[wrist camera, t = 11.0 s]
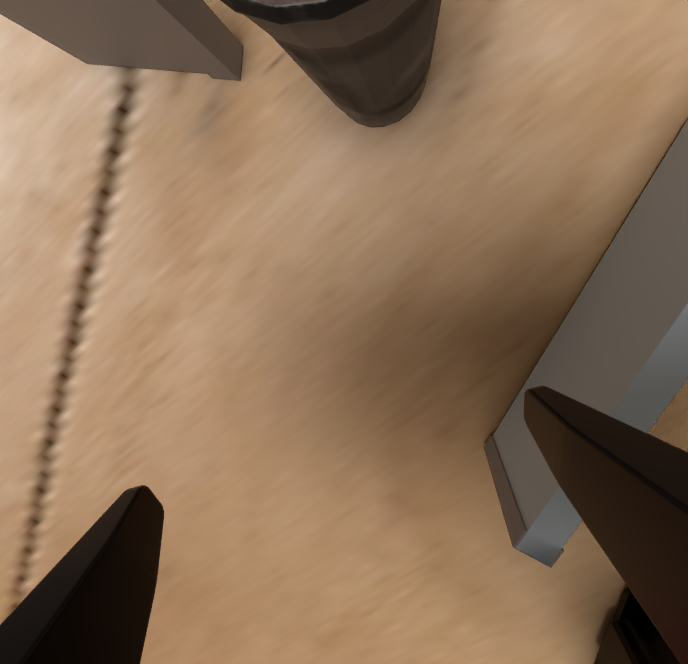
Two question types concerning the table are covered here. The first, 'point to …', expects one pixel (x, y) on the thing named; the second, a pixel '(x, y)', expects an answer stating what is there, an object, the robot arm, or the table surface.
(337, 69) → the beverage cup
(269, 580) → the table surface
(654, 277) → the grey thin rectangular panel
